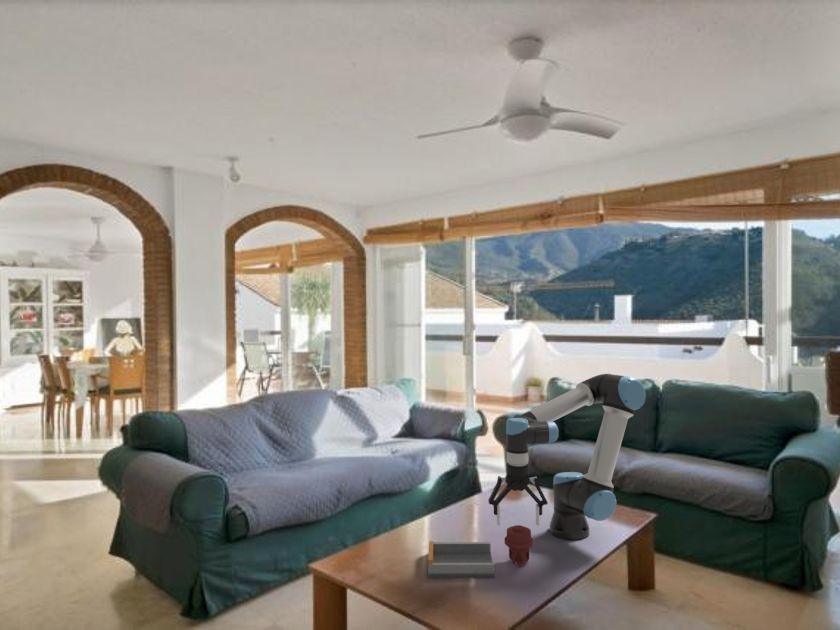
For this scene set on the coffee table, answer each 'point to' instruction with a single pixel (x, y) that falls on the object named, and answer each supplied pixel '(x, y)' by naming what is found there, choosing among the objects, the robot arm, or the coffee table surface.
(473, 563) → the grey piece
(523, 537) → the mechanical component
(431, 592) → the coffee table surface
